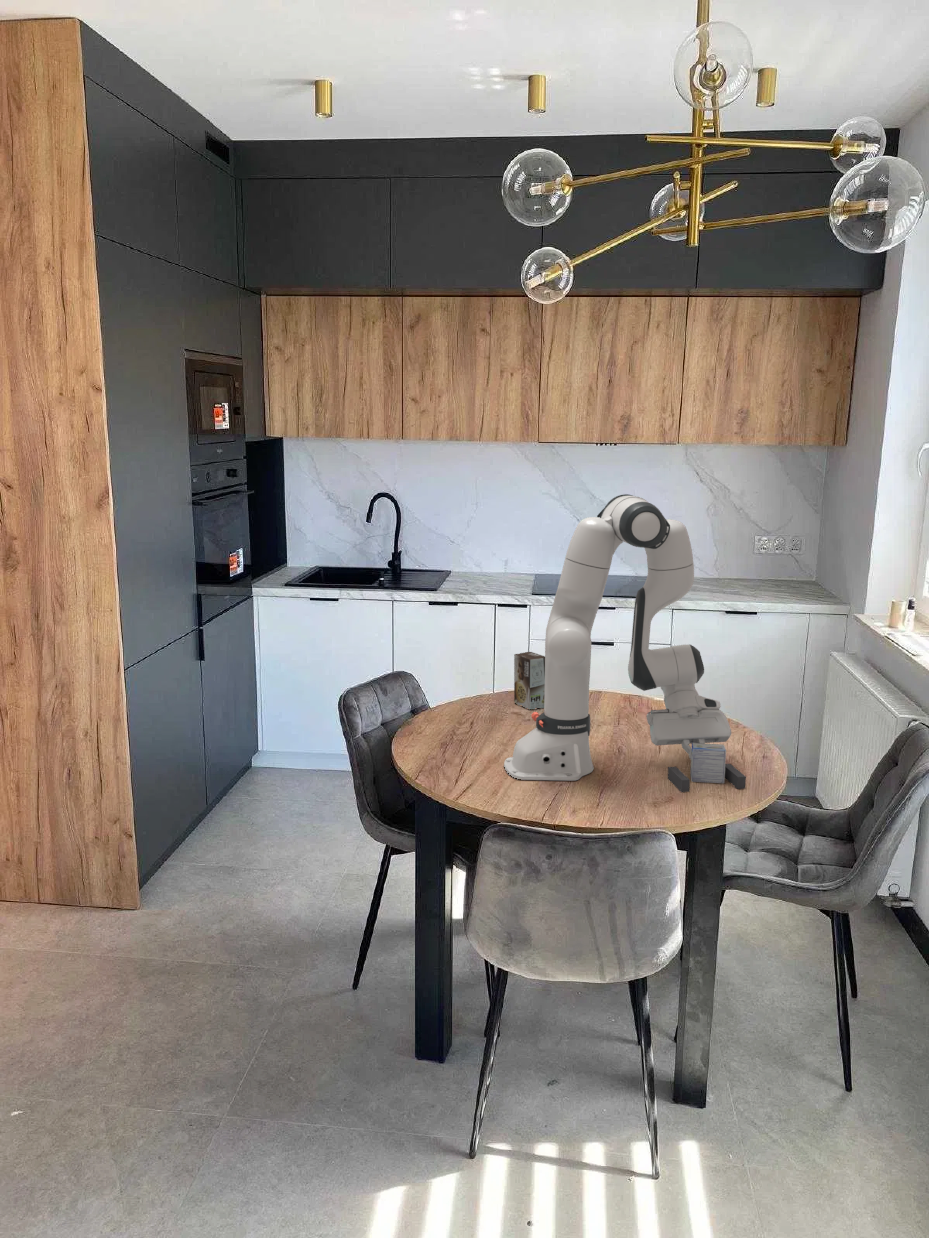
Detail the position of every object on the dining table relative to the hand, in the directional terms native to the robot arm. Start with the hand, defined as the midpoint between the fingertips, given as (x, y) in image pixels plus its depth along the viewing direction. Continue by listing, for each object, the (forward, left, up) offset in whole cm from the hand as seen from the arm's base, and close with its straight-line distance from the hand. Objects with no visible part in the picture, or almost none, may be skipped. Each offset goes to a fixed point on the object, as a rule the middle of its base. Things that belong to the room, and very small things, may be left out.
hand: (697, 758), depth 232 cm
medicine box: (+1, -4, -4) cm, 6 cm away
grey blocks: (0, -6, -4) cm, 7 cm away
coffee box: (-28, +65, -5) cm, 70 cm away
